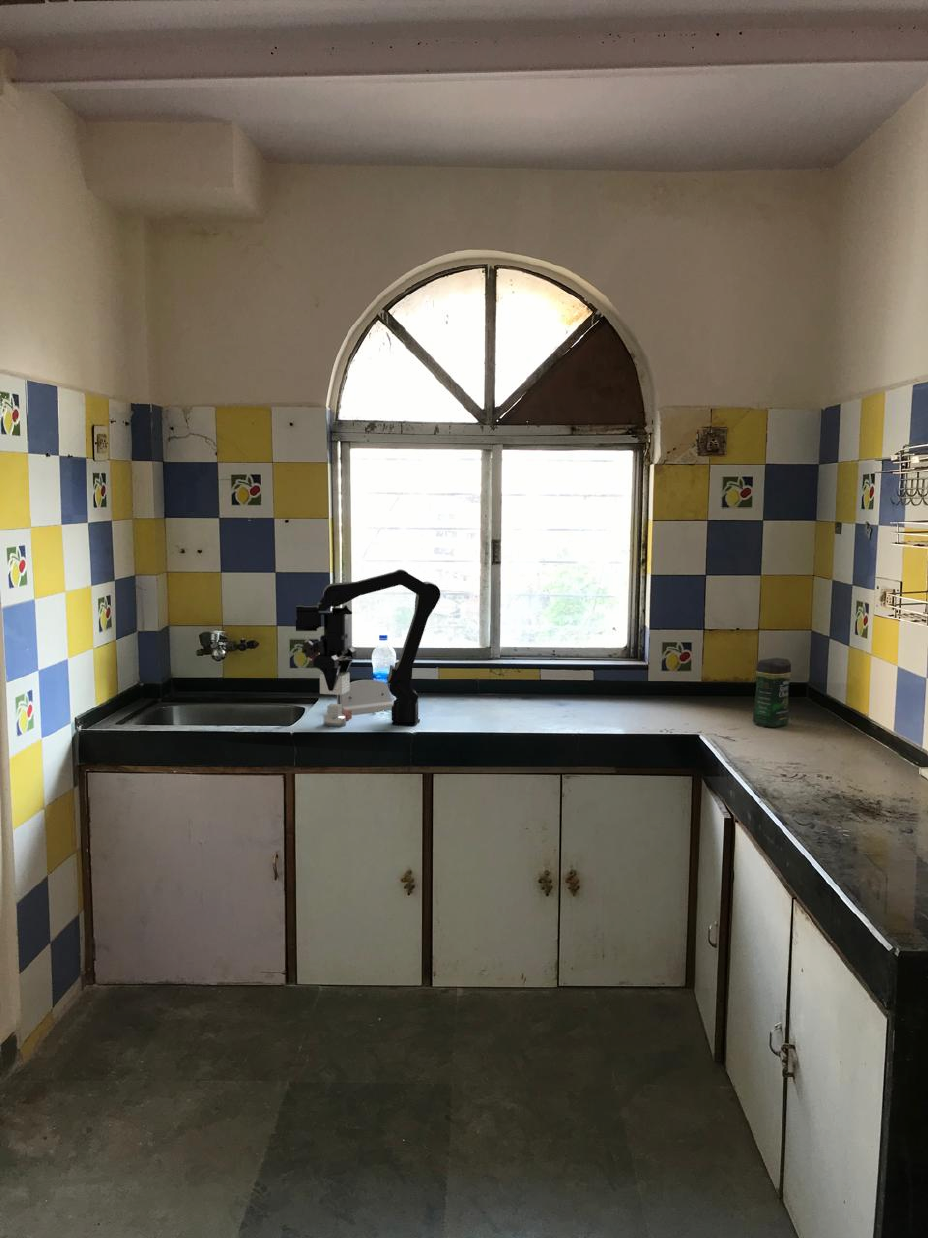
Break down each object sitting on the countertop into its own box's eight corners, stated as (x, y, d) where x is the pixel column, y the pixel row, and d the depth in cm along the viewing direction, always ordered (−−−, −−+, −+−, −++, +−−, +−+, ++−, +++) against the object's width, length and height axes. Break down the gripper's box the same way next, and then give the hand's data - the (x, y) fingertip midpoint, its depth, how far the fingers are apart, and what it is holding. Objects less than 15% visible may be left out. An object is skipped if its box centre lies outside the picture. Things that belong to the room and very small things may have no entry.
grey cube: (349, 690, 263) (349, 672, 262) (342, 694, 257) (341, 676, 256) (327, 689, 264) (327, 671, 264) (319, 693, 258) (319, 675, 258)
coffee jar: (773, 729, 262) (776, 662, 260) (748, 724, 268) (751, 658, 266) (793, 724, 268) (796, 658, 266) (768, 719, 274) (771, 654, 272)
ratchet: (355, 718, 270) (355, 699, 269) (341, 728, 258) (341, 708, 257) (335, 717, 271) (335, 698, 270) (320, 727, 259) (320, 706, 259)
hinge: (344, 716, 273) (338, 681, 274) (337, 718, 277) (332, 684, 278) (396, 709, 282) (390, 676, 283) (388, 712, 286) (383, 679, 287)
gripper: (318, 625, 269) (318, 681, 271) (292, 634, 251) (293, 693, 253) (356, 627, 267) (356, 682, 269) (333, 636, 249) (334, 695, 251)
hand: (334, 688), depth 260 cm, fingers closed on grey cube, 6 cm apart
